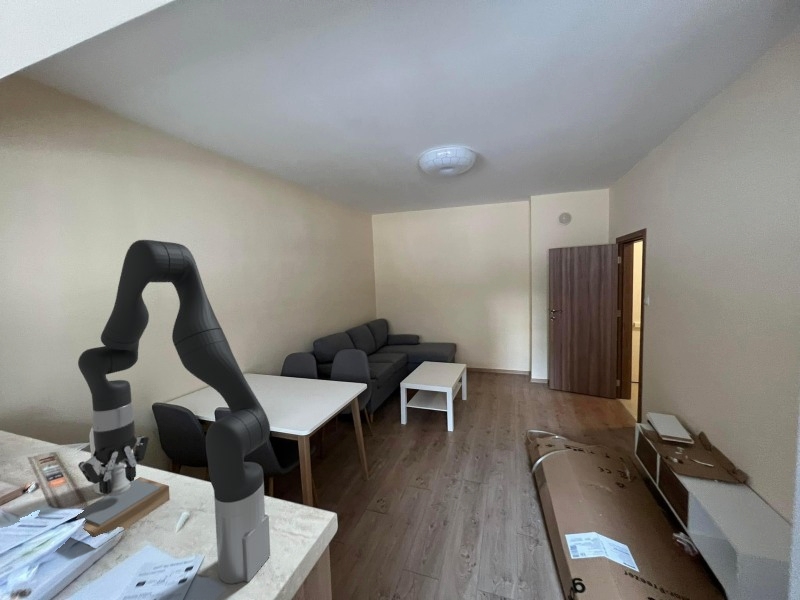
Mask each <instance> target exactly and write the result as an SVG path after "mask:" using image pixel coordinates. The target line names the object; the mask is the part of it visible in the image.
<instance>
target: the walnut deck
mask: <svg viewBox="0 0 800 600" xmlns="http://www.w3.org/2000/svg"><path fill="white" fill-rule="evenodd" d="M136 479H137V480H140V481H143V482H146V483H149V484H153V485H156V486H159V487H161V489H159V490H158V491H156V492H154V493H153V494H151V495H150V496H148V497H146V498H145V499H143V500H142V501H140V502H138V503H137V504H135V505H134V506H132V507H130V508H129V509H127V510H125V511H124V512H122V513H121V514H119V515H117V516H116V517H114V518H113V519H111V520H109V521H108V522H106V523H105V524H103V525H101V526H98V525H96V524H93V523H91V522H88V521H86V522H85V524H84V528H83V529H84V530H85V531H87V532H88V533H89V534H90V536H92V537H96V536H98V535H100V534H103V533H107V532H109V531H111V530H114V529H116V528H117V527H123V528H124V531H125V530H126V529H128V528H129V527H132V525H134V524H135V523H137V522H139V521H140V520H142V519H143V518H144V517H146V516H147V515H149V514H150V513H152V512H153V511H155V510H157V509H158V508H159V507H161V506H162V505H164V504H165V503H167V502H168V501H170V499H171V497H170V496H171V494H170V486H169V485H167V484H164V483H162V482H157V481H155V480H152V479H147V478H145V477H138V478H136ZM136 479H134V480H133V481H135V480H136ZM133 481H132V482H133ZM130 483H131V482H130ZM106 496H107V495H105V496H104V497H106ZM104 497H102V498H104ZM97 501H98V500H96V501H94V502H93V503H95V502H97ZM88 506H89V505H87V506H85V507H83V508H82V509H84V508H86V507H88ZM76 519H80V518H79V517H77V518H76Z"/></svg>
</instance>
